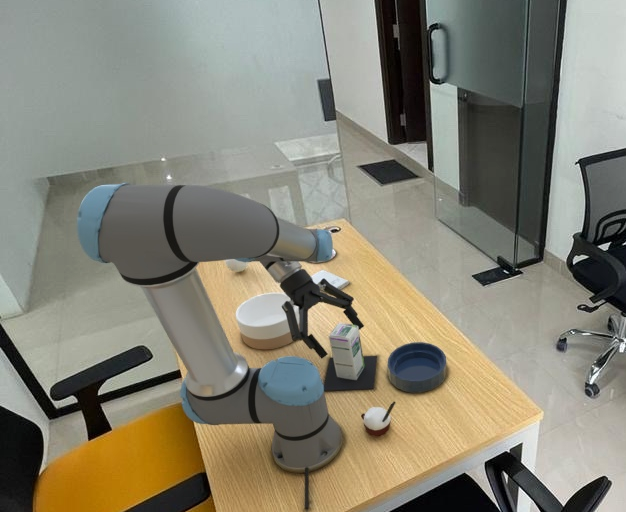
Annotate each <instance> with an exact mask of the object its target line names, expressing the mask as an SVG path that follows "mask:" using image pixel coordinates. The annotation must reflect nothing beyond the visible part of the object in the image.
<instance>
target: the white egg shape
mask: <svg viewBox="0 0 626 512" xmlns="http://www.w3.org/2000/svg"><path fill="white" fill-rule="evenodd" d="M224 263H225V265H226V268H227V269H229V271H232V272H234V273H241V272H243V271H246V269H247V267H248V265H249V262H241V261H237V260H235V259H229V260H224Z"/></svg>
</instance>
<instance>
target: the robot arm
mask: <svg viewBox="0 0 626 512" xmlns="http://www.w3.org/2000/svg"><path fill="white" fill-rule="evenodd" d="M76 232H77V238H78V241H79V244H80V246H81V249H82V251H83V252H84V253H85V255H86V256H87V257H88V258H89V259H91V260H93V261H96V262H99V263H101V264H110V263H112V264H113V265H114V266H115V268H116V270H117V271H118V273H119V275H120V276H121V278H122V279H123V281H124V282H126V283H127V284H129V285H131V286H134V287H139V288H140V289H141V291H142V293H143V295H144V296H145V298H146V300H147V302H148V303H149V306H150V307H151V309H152V311H153V312H154V314H155V316H156V318H157V319H158V322H159V323H160V325H161V326H162V328H163V330H164V332H165V333H166V335H167V337H168V339H169V340H170V342H171V344H172V346H173V348H174V349H175V351H176V353H177V355H178V357H179V358H180V360H181V362H182V364H183V365H184V368H185V369H186V374H185V376H184V379H183V381H182V383H181V386H180V398H181V399H182V401H181V407H182V410H183V412H184V414H185V415H186V416H187V418H188V419H189V420H191V421H192V422H194V423H196V424H200V425H209V426H219V425H221V426H222V425H257V424H258V425H263V424H265V425H266V424H272V426H273V429H274V430H273V436H272V443H271V453H272V456H273V460H274V462H275V463H276V465H277V466H278V467H280V468H281V469H282V470H284V471H285V472H289V473H295V474H304V510H309V509H310V506H309V505H310V493H309V492H310V486H309V485H310V484H309V483H310V482H309V481H310V480H309V478H310V477H309V476H310V475H309V474H310V472H313V471H317V470H319V469H322V468H323V467H325V466H327V465H328V464H329V463H331V462H332V461H333V460H334V459H335V458H336V457H337V455H339V453H340V450H341V448H342V445H343V435H342V431H341V428H340V426H339V424H338V423H337V422H336V420H335V419H334V418H333V416H332V415H331V414H330V413H329V408H328V404H327V399H326V398H327V397H326V394H325V391H324V381H323V379H322V377H321V374H320V370H319V369H318V367H317V366H315V365H314V363H313V362H312V361H310V360H308V359H306V358H303V357H301V356H293V355H290V356H289V355H287V356H281V357H278V358H276V360H274V359H272V360H270V361H268V362H267V363H265V364H264V365H263V366H262V367H250V366H249V364H248V360H247V359H246V358H245V356H243V355H242V354H241V353H239V352H236V351H234V350H233V348H232V345H231V343H230V340H229V338H228V336H227V334H226V331H225V330H224V327H223V325H222V323H221V321H220V318H219V316H218V314H217V312H216V309H215V307H214V305H213V303H212V301H211V298H210V297H209V294H208V291H207V289H206V287H205V285H204V283H203V280H202V278H201V276H200V274H199V272H198V269H197V267H198V266H199V265H200V263H208V262H209V263H210V262H220V261H225V260H229V259H235V260H237V261H241V262H248V263H252V262H259V264H261V266H263V268H264V269H265V271H266V272H267V273H268V275H270V277H271V278H272V280H273V281H274V282H275V283H276V284H279V288H280V289H281V290H282V292H283V293H285V294H286V295H287V296H288V297H289V298H290V299H291V301H286V302H285V303H284V304H283V305H282V309H283V310H284V312H285V313H286V317H287V321H288V325H289V329H290V333H291V337H292V340H293V342H298V341H299V342H300V341H301V342H303V343H304V344H305V345H306V347H307V348H308V349H309V350H311V351H312V350H313V351H314V352H315V353H316V354H317V356H318V357H319V358H320V359H321V360H322V359H324V358H326V356H327V357H328V355H329V353H328V352H327V351H326V349H325V348H324V347H323V346H322V345H321V344H320V342H319V341H318V339H316V337H315V336H314V335H313V334H312V333H310V334H309V310H310V309H312V308H313V307H314V306H316V305H318V304H319V303H321V304H322V303H324V304H327V305H331V306H333V307H337V308H340V309H343V311H342V312H343V314H344V315H345V317H346V318H347V319H348V320H349V322H350V324H352V325H357V326H358V328H359V331H360V330H361V329H362V328H364V327H365V324H364V323H363V322H362V321H361V320H360V318H359V317H358V315H359V314H358V312H357V311H356V310H355V309H354V307H353V301H354V300H355V298H354V296H352V295H350V294H348V293H347V292H345V291H343V290H342V289H338V288H336V287H334V286H333V285H331V284H330V283H329V282H328V281H327V280H326V279H324V278H323V279H322V280H321V281H320V282H319V283H318V284H315V283H314V282H313V280H312V278H311V276H312V275H310V274H309V273H308V271H307V270H306V269H305V268H302V267H303V265H302V264H301V263H302V262H305V263H312V262H319V263H322V262H321V261H325V262H329V261H331V260H332V259H331V257H332V252H333V249H334V245H333V237H332V233H331V232H330V231H329V230H328V229H324V228H308V227H304V226H301V225H299V224H296V223H294V222H291V221H289V220H287V219H284V218H281V217H279V216H277V215H276V213H274V211H272V209H271V208H269V207H268V206H267V205H265V204H263V203H260V202H259V201H256V200H254V199H251V198H249V197H246V196H243V195H242V194H241V195H240V194H237V193H234V192H231V191H227V190H224V189H222V188H217V187H214V186H213V187H212V186H207V185H200V184H131V183H129V182H122V183H119V184H102V185H99V186H96V187H94V188H92V189H90V191H88V193H86V195H85V196H84V197H83V199H82V201H81V203H80V205H79V208H78V213H77V219H76ZM321 289H322V290H321ZM323 290H324V292H323ZM325 291H326V292H325ZM294 305H295V306H298V307H299V327H298V323H297V319H296V315H295V311H294V309H293V308H294Z"/></svg>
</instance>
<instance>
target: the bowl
mask: <svg viewBox="0 0 626 512" xmlns="http://www.w3.org/2000/svg"><path fill="white" fill-rule="evenodd" d="M286 301H291V299H290V298H289V297H288V296H287V295H286V294H285V293H284V292H265V293H261V294H258V295H255V296H252V297H250V298H248V299H246V300H245V301H244V302H242V303H241V304H239V306H238V307H237V309H236V311H235V316H234V317H235V319H236V323H237V326H238V329H239V332H240V335H241V339H242V341H243V342H244V344H246V345H247V346H248V347H250V348H252V349H256V350H273V349H274V350H275V349H279V348H282V347H285V346H287V345H289V344H291V343H292V342H294V341H293V340H292V337H291V333H290V329H289V325H288V321H287V317H286V313H285V312H284V310H283V309H282V305H283V304H284V303H285V302H286ZM293 309H294V311H295V315H296V319H297V323H298V327H299V307H298V306H295V305H294V308H293Z"/></svg>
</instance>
